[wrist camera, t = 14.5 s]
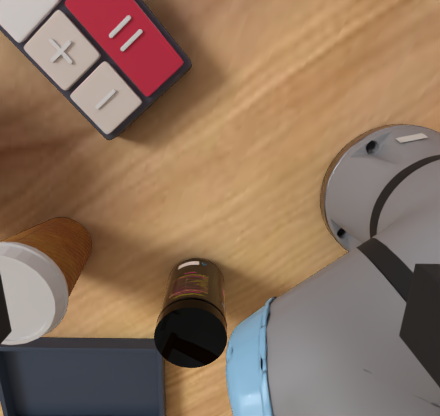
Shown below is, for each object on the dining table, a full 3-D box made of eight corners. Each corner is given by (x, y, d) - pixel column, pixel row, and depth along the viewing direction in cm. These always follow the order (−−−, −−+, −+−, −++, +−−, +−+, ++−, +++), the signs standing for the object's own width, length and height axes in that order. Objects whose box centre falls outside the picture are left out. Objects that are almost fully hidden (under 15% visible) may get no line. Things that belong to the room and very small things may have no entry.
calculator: (106, 143, 32) (-30, 4, 27) (117, 137, 36) (0, 14, 31) (192, 63, 30) (60, -102, 25) (194, 65, 34) (80, -76, 29)
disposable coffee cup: (85, 291, 41) (35, 365, 29) (10, 255, 39) (-73, 319, 28) (119, 229, 38) (79, 284, 27) (41, 188, 37) (-37, 227, 25)
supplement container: (181, 311, 42) (171, 376, 32) (159, 266, 40) (141, 320, 30) (231, 294, 41) (237, 355, 31) (212, 247, 39) (212, 297, 29)
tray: (163, 338, 43) (161, 349, 41) (166, 416, 47) (164, 428, 45) (-3, 336, 43) (-13, 347, 41) (14, 415, 47) (6, 428, 45)
